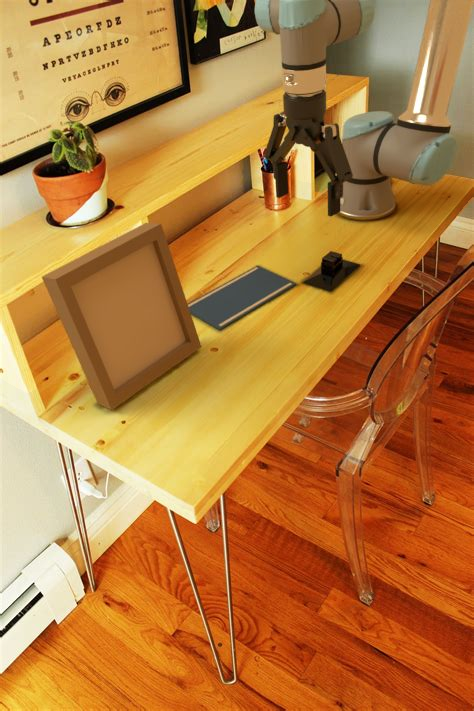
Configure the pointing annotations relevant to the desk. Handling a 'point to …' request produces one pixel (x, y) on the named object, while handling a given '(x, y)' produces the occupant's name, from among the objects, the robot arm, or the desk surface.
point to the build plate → (331, 272)
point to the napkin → (239, 297)
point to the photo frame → (124, 313)
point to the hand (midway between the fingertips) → (307, 204)
